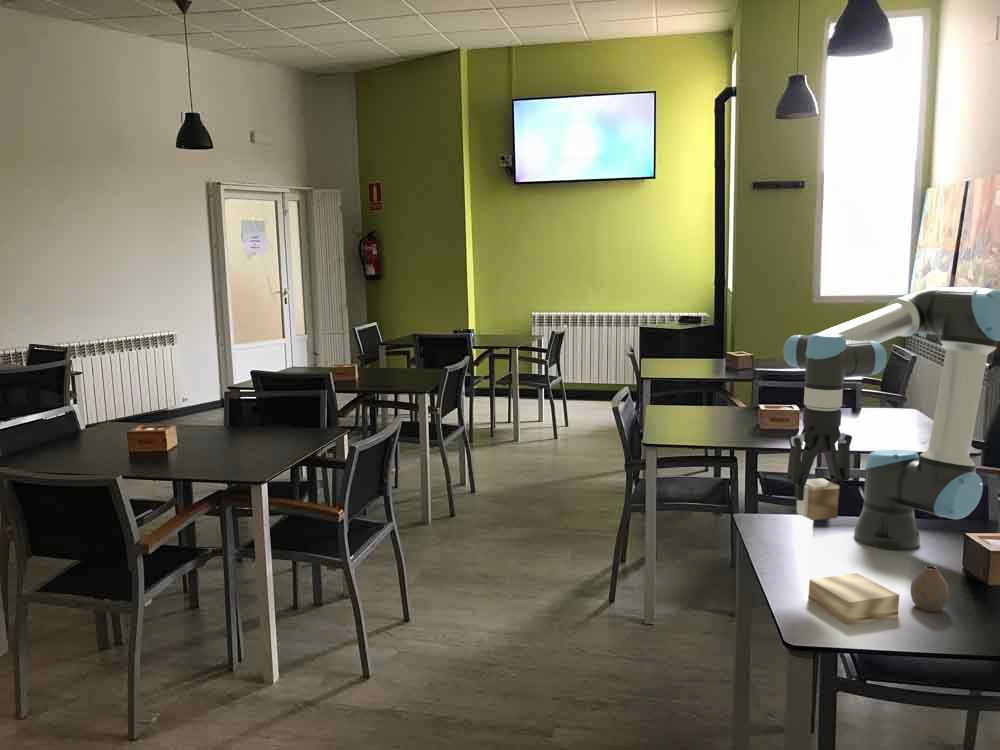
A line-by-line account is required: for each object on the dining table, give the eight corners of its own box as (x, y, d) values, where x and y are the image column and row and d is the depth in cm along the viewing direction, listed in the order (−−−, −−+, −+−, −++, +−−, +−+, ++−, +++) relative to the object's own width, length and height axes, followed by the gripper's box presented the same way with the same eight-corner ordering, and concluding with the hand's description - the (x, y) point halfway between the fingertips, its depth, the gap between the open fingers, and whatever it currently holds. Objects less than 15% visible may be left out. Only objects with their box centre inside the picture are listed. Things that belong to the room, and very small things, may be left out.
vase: (927, 617, 167) (930, 575, 166) (901, 603, 173) (904, 563, 172) (955, 613, 169) (958, 571, 168) (928, 599, 175) (932, 559, 174)
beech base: (855, 595, 178) (857, 572, 178) (897, 618, 167) (899, 595, 166) (807, 602, 175) (809, 579, 174) (847, 626, 164) (849, 602, 163)
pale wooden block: (820, 509, 182) (822, 478, 181) (837, 518, 176) (839, 485, 175) (795, 511, 181) (796, 480, 180) (811, 520, 175) (813, 487, 174)
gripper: (851, 402, 181) (844, 505, 184) (771, 406, 177) (766, 511, 180) (873, 408, 174) (866, 515, 177) (791, 412, 170) (785, 522, 173)
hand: (816, 513), depth 179 cm, fingers closed on pale wooden block, 6 cm apart
